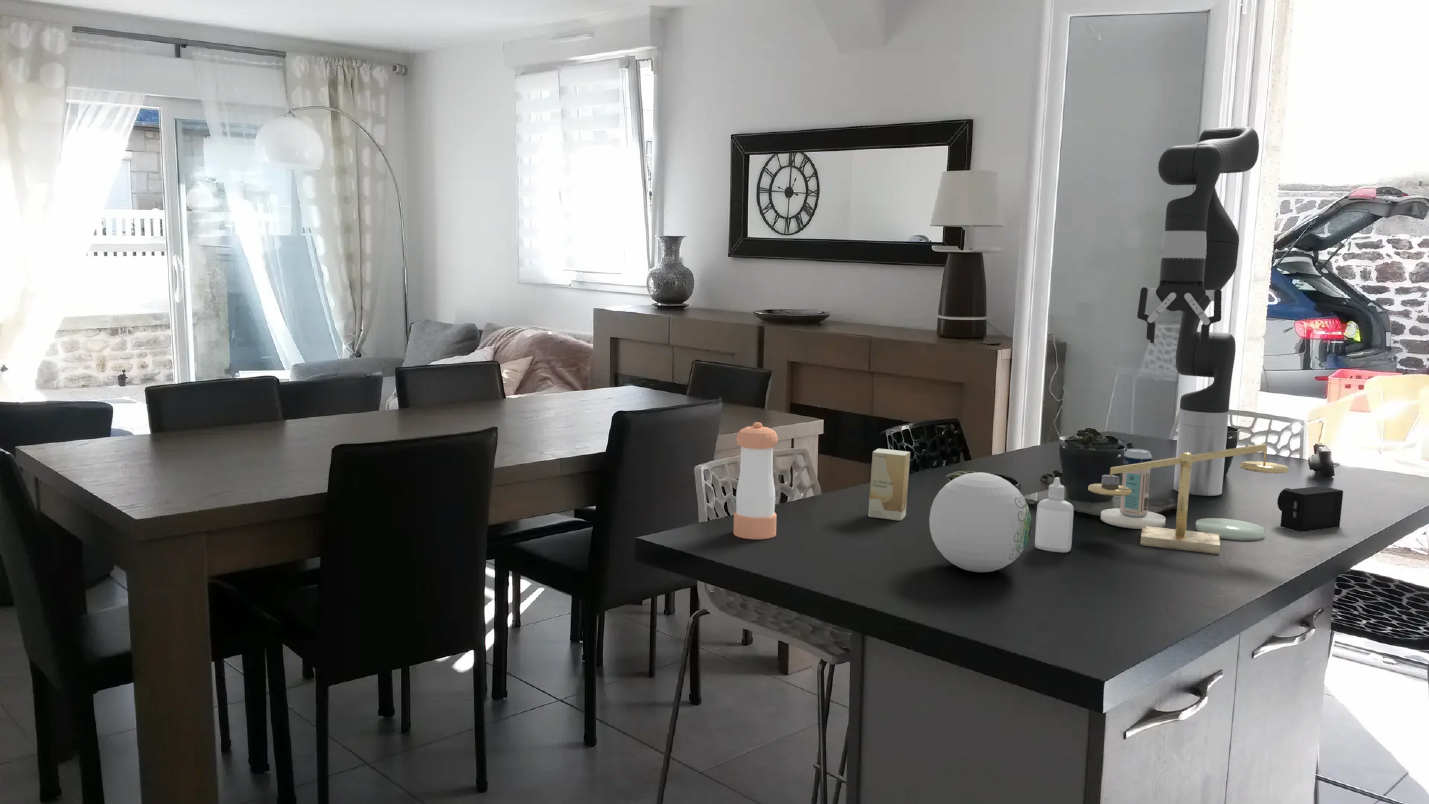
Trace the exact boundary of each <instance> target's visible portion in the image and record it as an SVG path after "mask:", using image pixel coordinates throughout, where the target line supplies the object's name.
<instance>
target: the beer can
mask: <svg viewBox="0 0 1429 804" xmlns="http://www.w3.org/2000/svg"><path fill="white" fill-rule="evenodd" d="M1152 459H1153V456H1152V454H1151V451H1150V450H1147V449H1141V448H1128V449H1126V451H1125V453H1123V465H1130V464H1136V463H1143V462H1149V461H1152ZM1151 469H1152V468H1150V469H1143V470H1137V471H1130V472H1124V473H1122V482H1121V486H1125V487H1128V488H1131V489H1132V494H1130V495H1126V496H1120V512H1121V513H1122V514H1123V515H1125V516H1128V517H1136V518H1140V517H1144V516H1146V515H1147V514H1148V513H1147V511H1148V507H1149V495H1150V482H1151V471H1152V470H1151Z"/></svg>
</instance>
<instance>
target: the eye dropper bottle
mask: <svg viewBox="0 0 1429 804" xmlns="http://www.w3.org/2000/svg"><path fill="white" fill-rule="evenodd" d="M1060 479H1061V478H1060V477H1055V478H1054V480H1053V483H1051V484H1049V485H1048V495H1047V498H1045V499H1042V500H1040V501H1039V502H1038V503H1037V505H1036V518H1035V532H1034V533H1035V534H1034V535H1035V536H1034V547H1035V548H1036V549H1037V550H1041V551H1045V552H1052V553H1062V554H1063V553H1068V552H1070V551H1071V550H1072V542H1073V525H1074V509H1075V508H1074V506H1073V504H1072V503H1070V502H1069V501H1067V500H1064V499H1065V486H1064V485H1062V483H1061V480H1060Z"/></svg>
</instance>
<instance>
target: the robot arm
mask: <svg viewBox="0 0 1429 804" xmlns="http://www.w3.org/2000/svg"><path fill="white" fill-rule="evenodd" d="M1198 138H1199V139H1198V142H1195V143H1194V144H1184V145H1174V146H1171V147H1168V148H1167V149H1165V150H1164V151H1163V153H1162V154H1161V156H1160V158H1159V161H1158V163H1157V164H1158V167H1157V169H1158V171H1157V172H1158V175H1159V178H1160V179H1161V180H1162V181H1163V182H1164V183H1165V184H1167V185H1170V186H1195V190H1194V191H1193V192H1192V193H1191V194H1189V195H1186V196H1184V197H1179V198H1175V199H1171V200H1170V201H1168V203H1167V205H1166V209H1165V211H1166V212H1165V221H1164V222H1165V223H1164V224H1165V225H1164V233H1163V239H1162V245H1161V250H1160V254H1161V257H1160V269H1159V284H1158V287H1157V288H1152V287H1147V286H1143V287H1141V289H1140V294H1139V300H1138V309H1137V313H1136V314H1137V316H1136V317H1137V318H1138V319H1139V320H1141V321H1144V322H1146V326H1147V327H1146V340H1148V341H1149V343H1150V344H1155V339H1156V338H1155V336H1156V323H1155V321H1156V319H1157V318H1158V317H1159V316H1160V315H1161V314H1162V313H1163V312H1164V311H1165V310H1167V311H1170V312H1176V311H1180V312H1182V314H1181V320H1180V327H1179V331H1178V338H1177V344H1176V351H1175V369H1176V371H1177V373H1178V374H1179V375H1182V376H1187V377H1188V376H1189V377H1203V378H1213V381H1212V383H1211V384H1210V385H1209V386H1207V387H1204V388H1201V389H1200V390H1197V391H1196V390H1195V391H1191V392H1187V393H1184V394H1183V395H1181V397H1180V401H1179V412H1178V413H1179V415H1178V427H1177V440H1176V450H1175V451H1176V453H1175V457H1179V456H1180V454H1182V453H1184V452H1189V453H1191V454H1192V455H1195V454H1201V453H1208V452H1214V451H1221V450H1227V447H1226V446H1227V438H1228V437H1227V436H1228V424H1229V422H1228V421H1229V414H1230V413H1229V411H1230V401H1231V400H1230V398H1231V390H1232V389H1231V387H1232V381H1233V380H1232V379H1233V373H1234V367H1235V359H1236V339H1235V337H1234V336H1233V334H1231V333H1228V332H1214V331H1213V332H1212V331H1210V328H1211V325H1212V324H1215V323H1218V322H1221V321H1222V299H1223V298H1222V295H1223V292H1222V289H1223V288H1224V287H1225V286H1226V285H1227V283H1228V282H1229V281H1230V279H1232V277H1233V275H1234V274H1235V272H1236V268H1237V263H1238V256H1239V255H1238V254H1239V247H1240V236H1239V233H1238V230H1237V228H1236V226H1235V224H1234V222H1233V221H1232V219H1231V217H1230V216H1229V214H1228V212H1227V211H1226V210H1225V208H1224V206H1223V205H1222V202H1221V200H1220V197H1219V196H1218V193H1217V189H1216V184H1217V183H1218V180H1219V178H1220V174H1237V173H1244V172H1248V171H1250V170H1251V169H1253V168H1254V167H1255V165H1256V163H1257V161H1258V157H1259V151H1260V143H1259V142H1260V141H1259V135H1258V133H1257V131H1256V130H1255V129H1254V128H1253V127H1250V126H1246V125H1245V126H1223V127H1212V128H1206V129H1204V130H1203V131H1202V132H1201V133H1200V136H1199V137H1198ZM1154 294H1155V295H1156V296H1157V298H1158V300H1159V301H1160V304H1159V305H1158V306H1157V307H1156V308H1155V310H1154V311H1152V313H1151V314H1148V313H1146V308H1147V300H1150V299H1152V297H1153V295H1154ZM1212 302H1213V315H1212V316H1208V315H1207V314H1206V313H1205V312H1206V310H1207V309H1208V307H1209V305H1210V304H1211V303H1212ZM1200 322H1202V324H1200ZM1200 325H1201V326H1200ZM1199 326H1200V327H1201V328H1200V331H1198V329H1199ZM1225 458H1226V457H1222V458H1216V459H1209V460H1203V461H1196V462H1193V464H1192V465H1191V473H1190V485H1189V495H1195V496H1209V497H1210V496H1211V497H1213V496H1220V495H1222V494H1223V484H1224V483H1223V482H1224V473H1225V472H1224V470H1225V461H1226V460H1225ZM1174 466H1175V467H1174V478H1173V490H1174V491H1176V492H1179V479H1180V467H1181V464H1176V465H1174Z"/></svg>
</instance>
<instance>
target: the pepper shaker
mask: <svg viewBox="0 0 1429 804" xmlns="http://www.w3.org/2000/svg"><path fill="white" fill-rule="evenodd" d="M778 441H779V437H778V434H777V432H776V431H775V430H774V429H772V428H770V427H766V426H763V423H762V422H760V421H759V422H757V421H755V422H753V424H752V426H746V427H743V428H741V429H740V430H739V431H738V432H737V436H736V443H737V445H738V446H740V469H739V477H738V483H737V488H736V492H735V497H736V498H735V499H736V500H735V501H736V502H735V503H736V506H735V508H736V510H735V511H734V512H733V535H734V536H735V537H737V538H741V539H748V540H766V539H768V540H769V539H771V538H774V537H777V516H778V515H777V513H776V512H775V509H776V505H775V504H776V489H775V482H774V481H775V480H774V474H773V471H774V470H773V463H774V461H773V460H774V459H773V458H774V447H776V446H777V444H778Z"/></svg>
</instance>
